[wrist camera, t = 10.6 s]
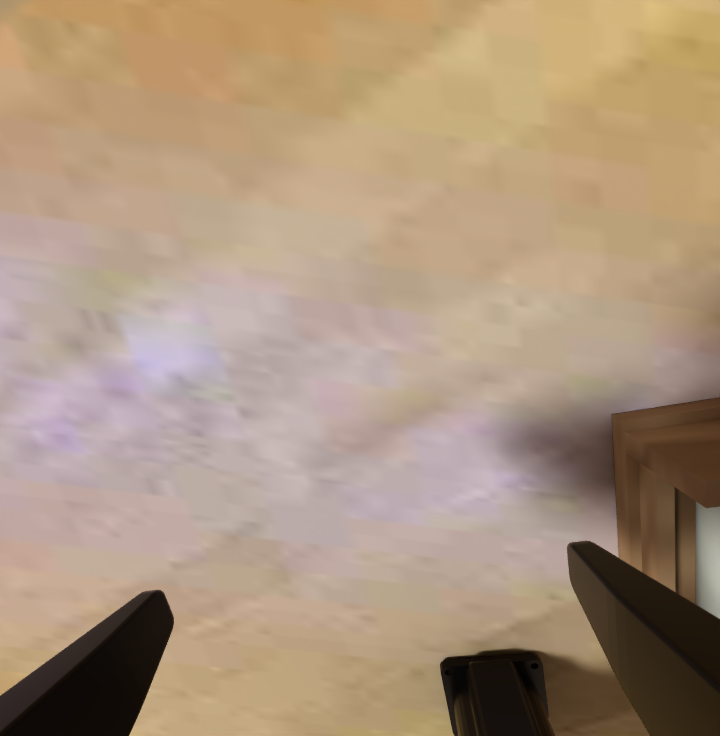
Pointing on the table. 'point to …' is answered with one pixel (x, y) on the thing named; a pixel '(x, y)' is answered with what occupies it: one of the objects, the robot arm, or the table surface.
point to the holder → (665, 486)
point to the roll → (707, 559)
